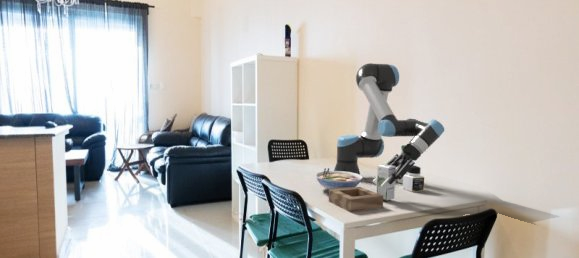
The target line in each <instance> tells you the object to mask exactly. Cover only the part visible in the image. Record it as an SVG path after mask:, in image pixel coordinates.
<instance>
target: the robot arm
mask: <svg viewBox="0 0 579 258" xmlns="http://www.w3.org/2000/svg"><path fill="white" fill-rule="evenodd" d="M355 79H356V80H355V81H356V85H357V86H358V87H357V88H358V89H359V90H360V91H362V93H363V94H364V95H365V98H366V99H367V101H368V104H369V107H368V111H367V117H366V122H365V127H364V131H362V132H361V133H360V137H359V135H356V134H350V135H349V134H347V135H342V136H339V137H338V139H337V144H336V148H337V149H336V164H335V166H334V170H333V171H344V172H352V173H356V174H359V175H361V172H360V169H359V163H358V159H364V158H365V159H368V158H369V159H372V158H373V159H374V158H377V157H379V156H381V155H382V154H383V152H384V149H385V144H384V143H385V142H384V139H382V138H383V137H389V138H392V137H412V139H410V141H409V142H408V143H407V144H405V145H406V146H405V147H404V148H403V153H402V154H401V153H400V154H398V153H396V154H395V155H394V156H393V157H392V158H391V159H390V160H388V161H387V163H385V164H386V165H391V166H396V171H395V172H394V174H391V175H390V176H389V178H388V179H387V180H386V181H385V182H384V183H383V184H382V185H381V187H382V188H383V189H384V190H386V189H387V188H388V187H389V186H390V185H391V184H392V183H393V182H394V181H395V182H396V181H397V179H399V180H400V179H401V178H402V177H403V176H404V175H405V174H406V172H407V171H408V170H409V169H410V168H411V167H412V166H413V165H414V166H415V164H416V163H415V161H417V160H418V159H419V158H420V157H421V156H422V155H423V153H425V152H427V150H428V149H429V148H430V147H431V146H432V145H433V144H434V143H435V142H436V141H437V140H438V139H439V138H440V137H441V136H442V135H443V133H444V132H445V127H444V125H443V124H442V122H440V121H438V120H437V119H431V120H429V121H428V122H423V121H421V120H418V119H415V118H407V119H405V120H404V119H397V117H396V116H395V113H394V112H393V110H392V108H391V106H390V105H389V104H388V102H387V101H388V96H389V94H390V93H392V91H393V88H394V87H396V86H397V85H398V84H399V82H400V71H398V68H397V67H396V66H395V65H393V64H388V63H365V64H363V65H362V66H360V68H359V69H358V71H357V73H356V75H355ZM372 183H374V184H375V186H377V176H376V177H375V178H374V179H373V180H372Z"/></svg>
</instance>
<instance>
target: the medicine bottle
mask: <svg viewBox="0 0 579 258" xmlns="http://www.w3.org/2000/svg"><path fill="white" fill-rule="evenodd" d="M421 169H422V167H420V166H418V165H415V164H414V165H413V166H412V167H411V168H410V169H409V170H408V172H407V174H408V175H404V176H403V184H402V189H403V190H405V191H407V192H411V193H417V192H424V190H425V189H424V188H425V187H424V186H425V177H424V176H423V175H421Z"/></svg>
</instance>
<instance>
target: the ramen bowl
mask: <svg viewBox="0 0 579 258" xmlns="http://www.w3.org/2000/svg"><path fill="white" fill-rule="evenodd" d="M314 174H315V178H316V180H317V182H318V183H319V185H320V186H321V187H323V188H325V189H328V191H329V190H332V189H342V188H352V187H358V185H359V184H360V183H361V181H362V180H363V178H364V177H363V176H362V175H361V174H360V175H359V174H356V173H352V172H344V171H334V170H330V168H329V167H327V168H326V167H324V170H322V171H318V172H316V173H314Z"/></svg>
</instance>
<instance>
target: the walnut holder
mask: <svg viewBox="0 0 579 258" xmlns="http://www.w3.org/2000/svg"><path fill="white" fill-rule="evenodd" d="M328 203H331V204H333V205H335V206H337V207H338V208H342V210H345V211H347V212H349V213H355V212H361V211H362V212H363V211H370V210H376V209H383V208H384V199H383V195H380V194H378V193H377V192H374V191H372V190H370V189H367V188H364V187H361V186H356V187H352V188H342V189H332V190H329V189H328Z"/></svg>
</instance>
